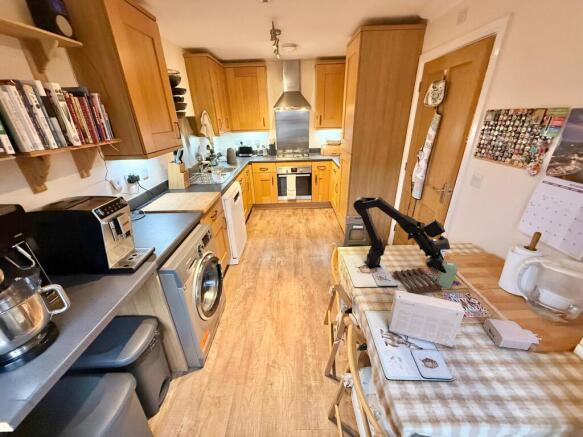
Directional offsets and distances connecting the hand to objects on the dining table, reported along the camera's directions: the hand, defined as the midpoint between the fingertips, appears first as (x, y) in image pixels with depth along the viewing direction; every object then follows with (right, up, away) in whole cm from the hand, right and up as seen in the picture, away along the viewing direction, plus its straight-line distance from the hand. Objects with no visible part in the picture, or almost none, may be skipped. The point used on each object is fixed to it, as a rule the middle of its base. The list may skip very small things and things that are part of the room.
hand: (444, 267), depth 108 cm
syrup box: (+5, -2, +17) cm, 17 cm away
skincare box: (-25, -20, -22) cm, 39 cm away
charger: (+8, -21, -24) cm, 33 cm away
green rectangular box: (+1, -8, +3) cm, 9 cm away
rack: (-12, -8, +3) cm, 15 cm away
